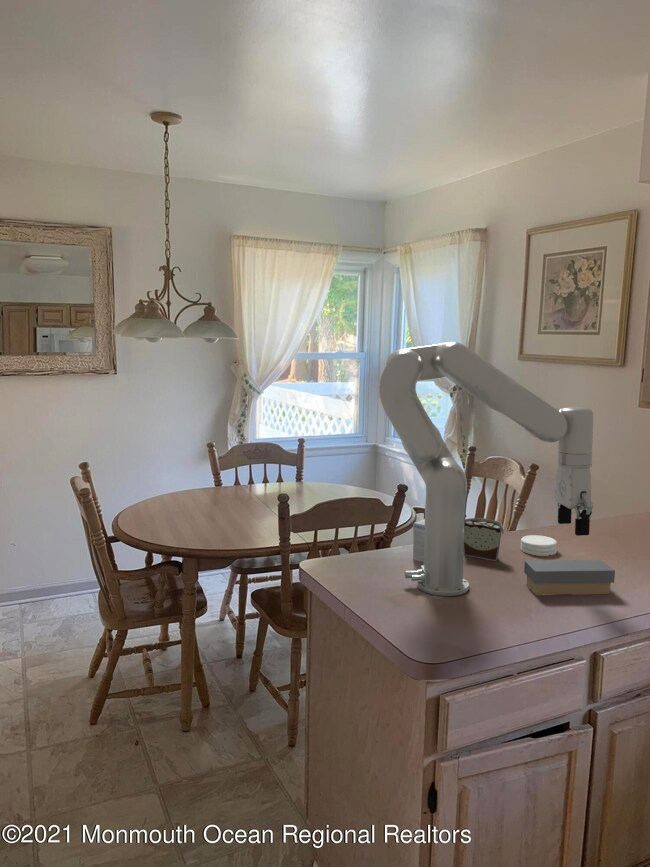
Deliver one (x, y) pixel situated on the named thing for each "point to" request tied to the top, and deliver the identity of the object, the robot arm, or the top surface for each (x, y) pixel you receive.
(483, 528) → the food container
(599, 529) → the top surface
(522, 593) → the top surface
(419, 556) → the light bulb box
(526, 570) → the lid
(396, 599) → the top surface
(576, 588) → the tan open box
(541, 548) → the white short cylinder
